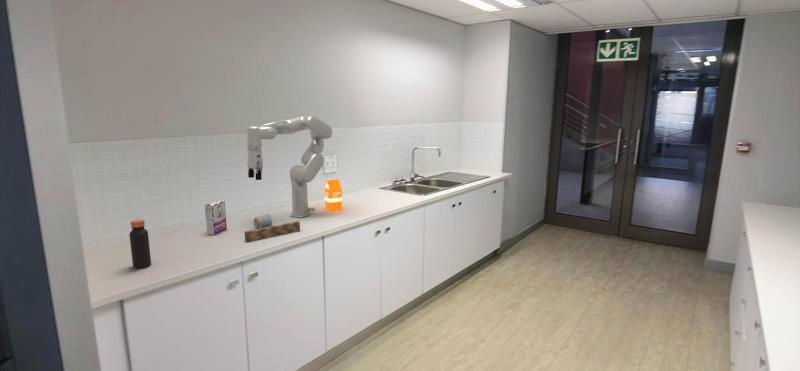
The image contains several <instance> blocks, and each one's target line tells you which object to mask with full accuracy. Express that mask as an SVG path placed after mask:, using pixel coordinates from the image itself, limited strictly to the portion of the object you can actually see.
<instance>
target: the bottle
mask: <svg viewBox="0 0 800 371" xmlns="http://www.w3.org/2000/svg"><path fill="white" fill-rule="evenodd" d="M145 226H146V224H145V220H144V219H133V220H131V221H130V228H131V229H132V230H131V231H130V232H129V242H130V250H131V251H130V253H131V262H132V267H133V268H134V269H139V270H140V269H146V268H148V267H150V266H151V265H152V259H151V258H152V257H151V248H150V239H149V231H148V229H146V228H145Z"/></svg>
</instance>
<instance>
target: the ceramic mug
mask: <svg viewBox="0 0 800 371" xmlns="http://www.w3.org/2000/svg"><path fill="white" fill-rule="evenodd" d="M253 224H254V227H255V229H260V228H265V227H270V226H273V219H272V217H271V215H270V214H269V213H268V214H263V215H260V216H259V215H257V216H256V217H254V219H253Z"/></svg>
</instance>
